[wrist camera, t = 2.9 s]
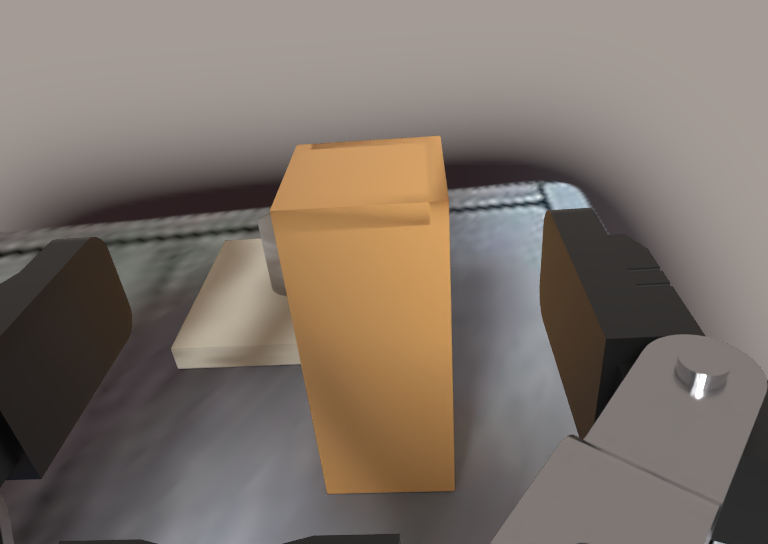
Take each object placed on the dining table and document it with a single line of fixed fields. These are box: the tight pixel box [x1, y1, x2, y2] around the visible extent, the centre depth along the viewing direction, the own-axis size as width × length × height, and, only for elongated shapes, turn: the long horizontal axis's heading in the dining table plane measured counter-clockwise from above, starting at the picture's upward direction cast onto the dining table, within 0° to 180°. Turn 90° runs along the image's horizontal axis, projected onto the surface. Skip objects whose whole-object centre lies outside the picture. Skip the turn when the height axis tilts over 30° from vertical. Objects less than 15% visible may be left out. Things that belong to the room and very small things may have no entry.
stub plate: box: [171, 213, 301, 369], centre depth 37 cm, size 12×12×6 cm
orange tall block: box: [270, 136, 455, 494], centre depth 25 cm, size 6×6×14 cm
